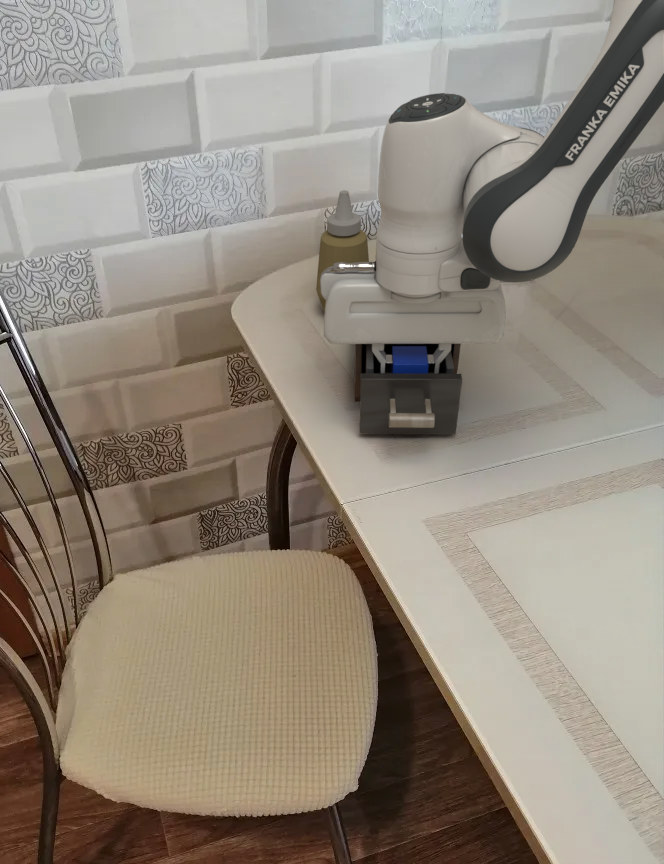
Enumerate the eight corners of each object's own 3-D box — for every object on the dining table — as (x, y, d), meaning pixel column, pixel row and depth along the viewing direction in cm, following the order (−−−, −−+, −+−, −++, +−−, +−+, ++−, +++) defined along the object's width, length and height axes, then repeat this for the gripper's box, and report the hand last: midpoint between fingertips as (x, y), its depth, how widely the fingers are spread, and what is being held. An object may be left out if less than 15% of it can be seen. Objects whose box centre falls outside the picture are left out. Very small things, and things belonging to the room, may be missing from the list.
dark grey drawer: (459, 458, 91) (466, 403, 86) (359, 457, 92) (360, 402, 87) (446, 371, 105) (451, 319, 99) (359, 371, 105) (360, 319, 100)
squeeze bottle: (305, 311, 120) (301, 192, 108) (344, 293, 123) (345, 176, 111) (341, 331, 115) (342, 209, 103) (381, 312, 119) (386, 191, 107)
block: (423, 374, 97) (426, 345, 94) (426, 393, 94) (428, 364, 91) (390, 374, 97) (392, 345, 94) (391, 393, 94) (393, 364, 91)
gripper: (318, 276, 83) (320, 386, 93) (516, 274, 82) (498, 386, 91) (320, 250, 88) (322, 357, 97) (508, 248, 87) (491, 357, 96)
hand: (409, 371), depth 94 cm, fingers closed on block, 4 cm apart
